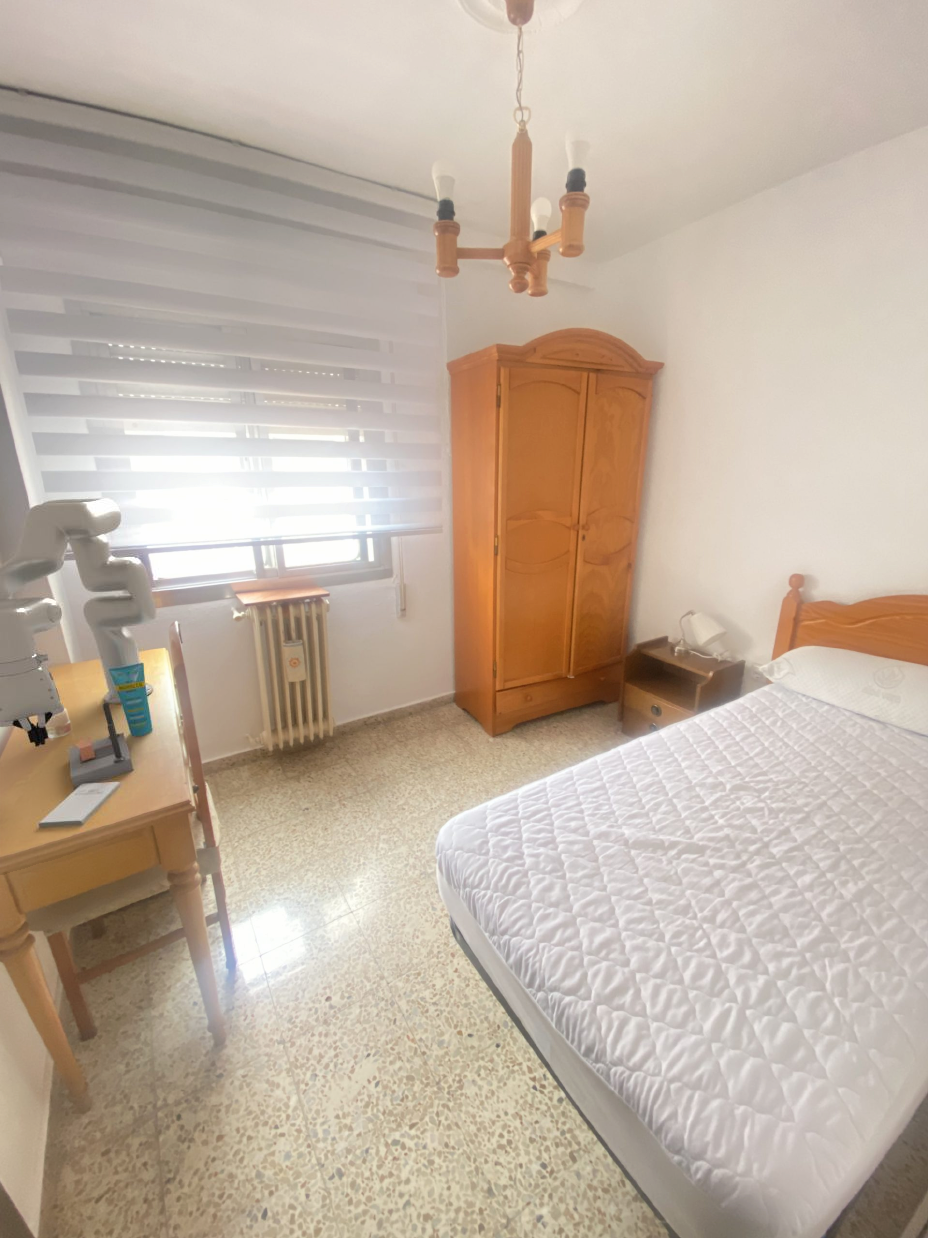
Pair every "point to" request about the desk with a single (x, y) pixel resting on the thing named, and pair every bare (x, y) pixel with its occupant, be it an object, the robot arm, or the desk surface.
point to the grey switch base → (99, 762)
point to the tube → (133, 697)
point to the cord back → (108, 714)
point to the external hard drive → (80, 804)
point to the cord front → (114, 741)
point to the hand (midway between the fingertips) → (40, 743)
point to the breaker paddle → (86, 749)
